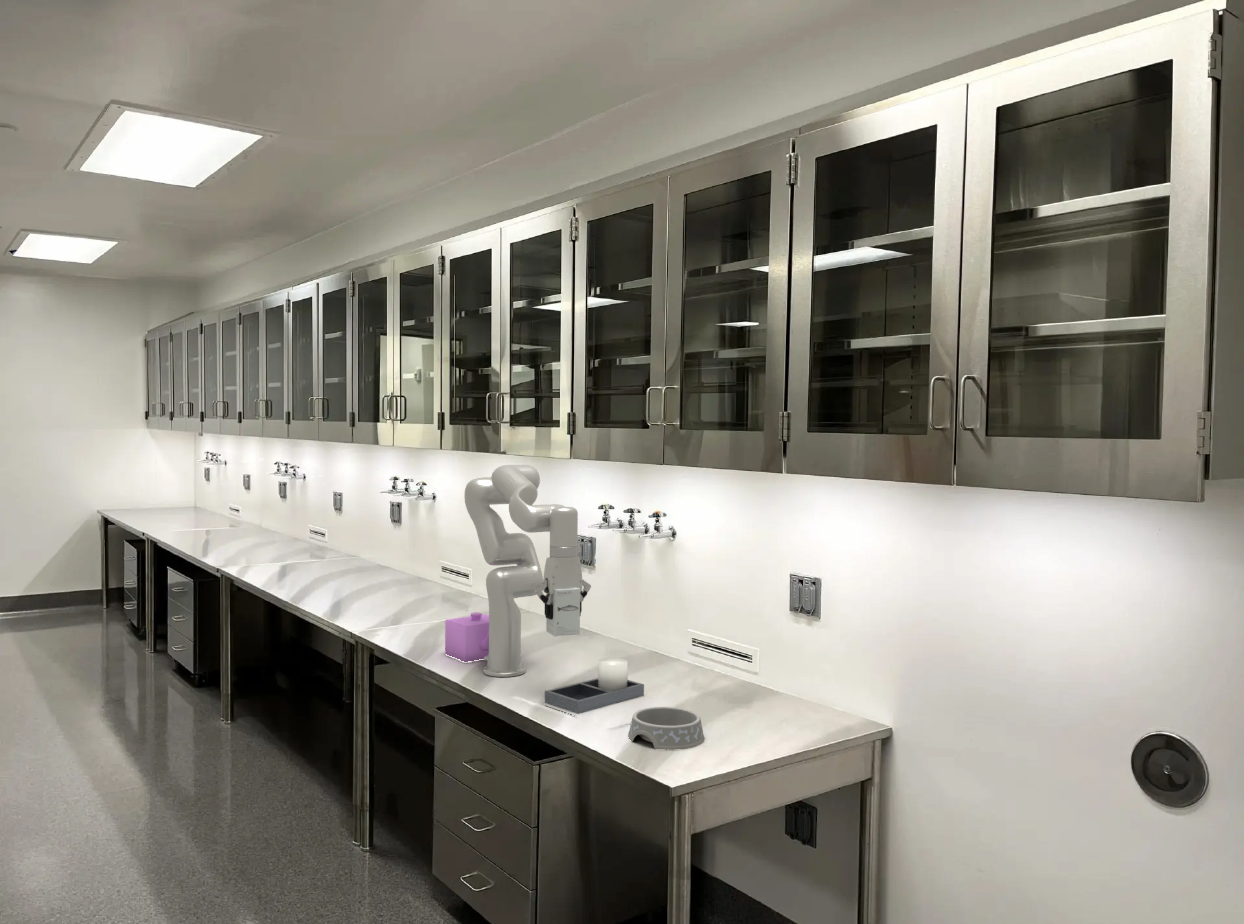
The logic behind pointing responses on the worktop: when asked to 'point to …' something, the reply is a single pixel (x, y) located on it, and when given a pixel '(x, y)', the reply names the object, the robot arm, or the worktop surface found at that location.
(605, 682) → the white rounded cylinder
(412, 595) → the worktop surface
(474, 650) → the teapot
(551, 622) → the supplement box
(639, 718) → the dog bowl
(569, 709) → the divided grey tray
